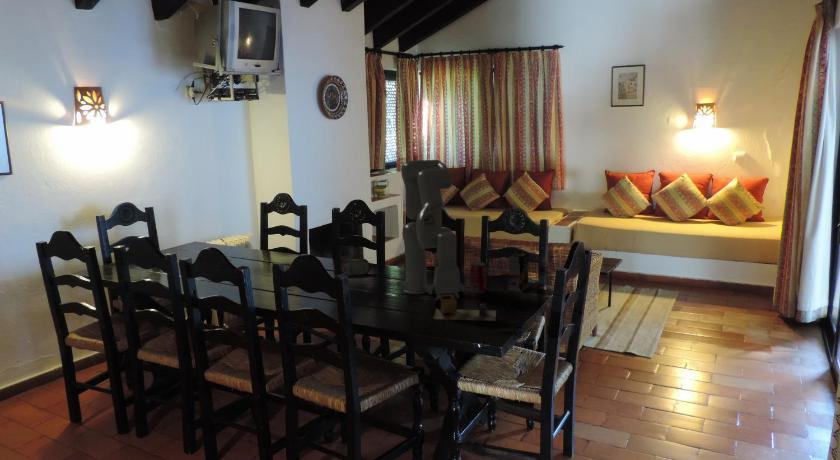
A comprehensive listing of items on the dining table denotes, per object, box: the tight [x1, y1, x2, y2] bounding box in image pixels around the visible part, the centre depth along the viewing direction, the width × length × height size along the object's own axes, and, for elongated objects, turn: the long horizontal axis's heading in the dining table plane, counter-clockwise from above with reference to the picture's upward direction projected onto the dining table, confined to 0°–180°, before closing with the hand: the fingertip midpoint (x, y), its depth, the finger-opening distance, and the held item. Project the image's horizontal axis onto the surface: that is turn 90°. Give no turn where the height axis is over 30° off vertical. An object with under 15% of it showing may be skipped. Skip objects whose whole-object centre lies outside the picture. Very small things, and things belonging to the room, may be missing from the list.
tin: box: [339, 258, 371, 277], centre depth 301 cm, size 15×3×8 cm, turn 106°
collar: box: [439, 294, 458, 313], centre depth 237 cm, size 6×6×5 cm
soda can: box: [469, 261, 487, 295], centre depth 269 cm, size 7×7×13 cm
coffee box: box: [507, 252, 530, 293], centre depth 272 cm, size 9×6×16 cm
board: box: [432, 308, 497, 322], centre depth 236 cm, size 24×12×7 cm, turn 83°
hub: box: [478, 302, 488, 316], centre depth 235 cm, size 3×3×4 cm
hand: (446, 307), depth 237 cm, fingers closed on collar, 6 cm apart
